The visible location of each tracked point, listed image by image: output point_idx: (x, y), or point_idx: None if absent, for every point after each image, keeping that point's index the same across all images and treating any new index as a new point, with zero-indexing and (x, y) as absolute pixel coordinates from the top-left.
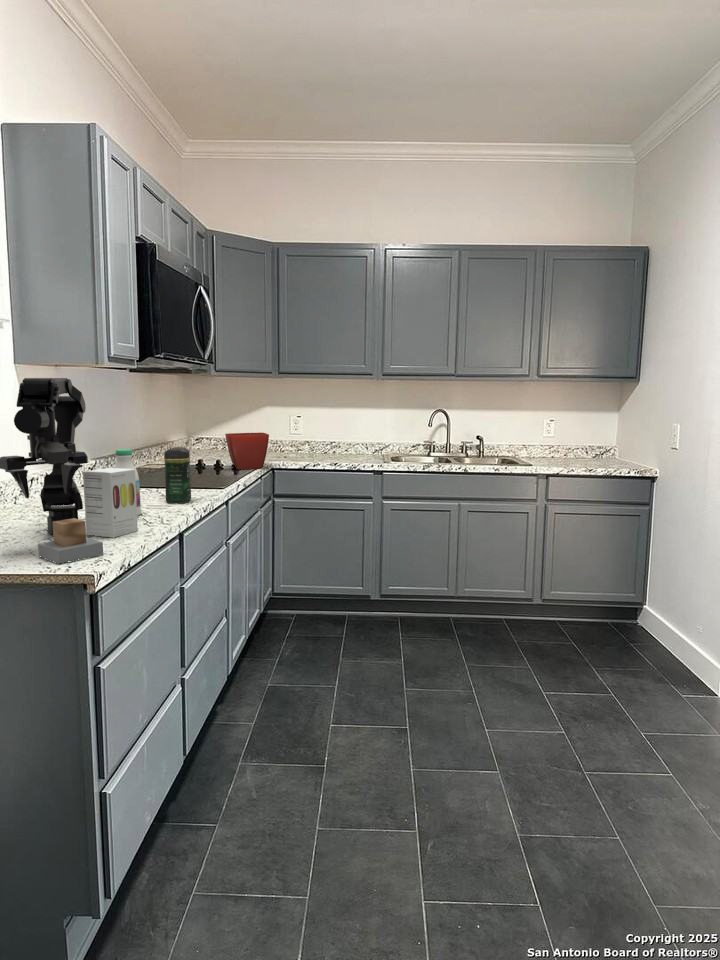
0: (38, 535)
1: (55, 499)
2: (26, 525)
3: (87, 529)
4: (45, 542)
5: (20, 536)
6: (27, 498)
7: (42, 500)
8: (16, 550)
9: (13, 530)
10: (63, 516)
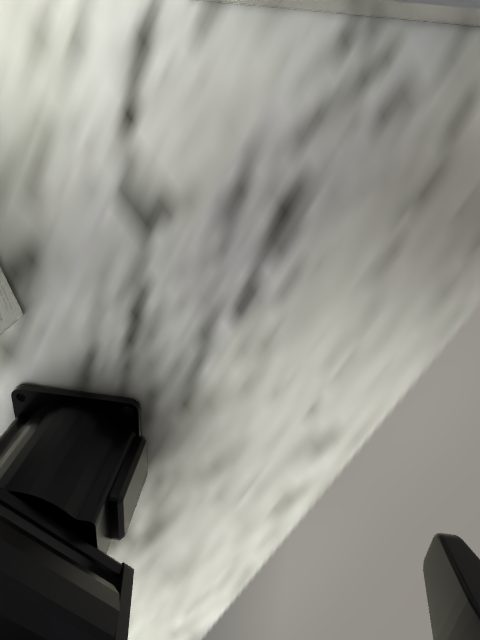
0: (186, 483)
1: (54, 580)
2: (134, 632)
3: (1, 318)
4: (476, 3)
5: (243, 521)
6: (449, 536)
7: (121, 634)
8: (429, 309)
9: (205, 609)
10: (60, 475)
